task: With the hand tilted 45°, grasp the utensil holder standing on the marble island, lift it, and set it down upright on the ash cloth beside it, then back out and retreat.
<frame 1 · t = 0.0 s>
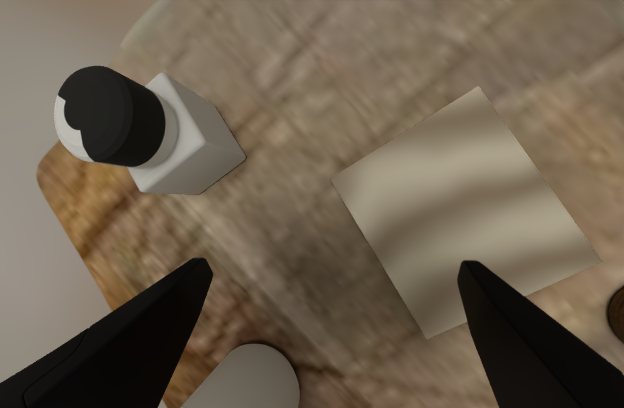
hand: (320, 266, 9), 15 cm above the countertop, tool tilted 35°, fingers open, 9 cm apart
alcohol: (262, 379, 25), on the countertop
ash cloth: (445, 214, 21), on the countertop
medicine bottle: (207, 151, 26), on the countertop
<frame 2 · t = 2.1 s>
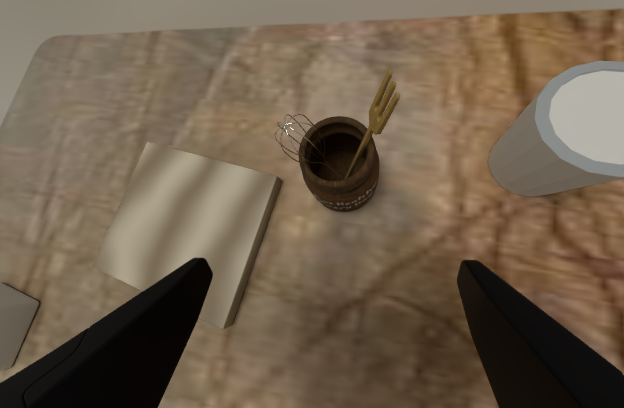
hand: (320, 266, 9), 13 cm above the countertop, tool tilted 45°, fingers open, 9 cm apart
white cup: (525, 164, 20), on the countertop
utensil holder: (345, 182, 23), on the countertop
ash cloth: (190, 225, 25), on the countertop
medicine bottle: (10, 322, 27), on the countertop
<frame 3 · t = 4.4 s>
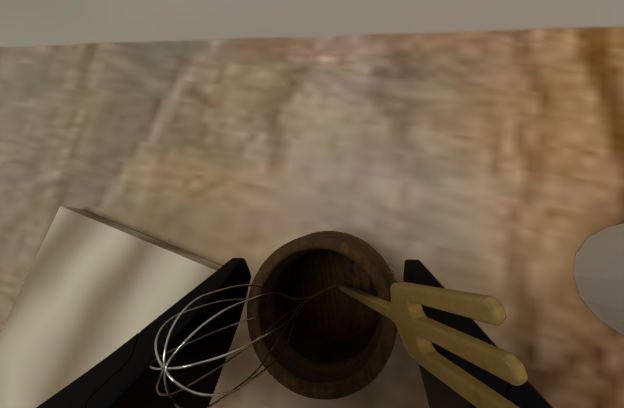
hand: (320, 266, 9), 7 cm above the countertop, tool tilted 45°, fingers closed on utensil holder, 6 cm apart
utensil holder: (340, 285, 15), on the countertop, touching gripper
ash cloth: (115, 334, 17), on the countertop
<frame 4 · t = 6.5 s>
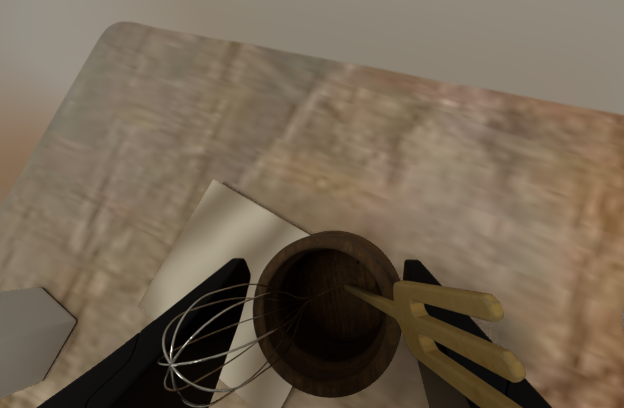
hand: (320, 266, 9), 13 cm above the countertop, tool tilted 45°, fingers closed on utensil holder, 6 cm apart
utensil holder: (346, 285, 15), point 6 cm above the countertop, touching gripper
ash cloth: (247, 284, 23), on the countertop
medicine bottle: (45, 331, 27), on the countertop
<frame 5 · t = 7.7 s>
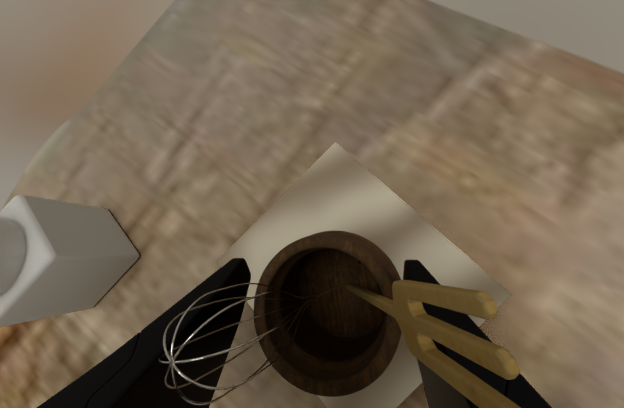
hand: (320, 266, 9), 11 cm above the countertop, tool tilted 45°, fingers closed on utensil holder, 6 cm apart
utensil holder: (348, 285, 15), point 4 cm above the countertop, touching gripper
ash cloth: (346, 273, 19), on the countertop
medicine bottle: (103, 256, 25), on the countertop
when the fingers open (9 cm above the countertop, at t = 8.5 s): utensil holder drops 1 cm, resting on ash cloth.
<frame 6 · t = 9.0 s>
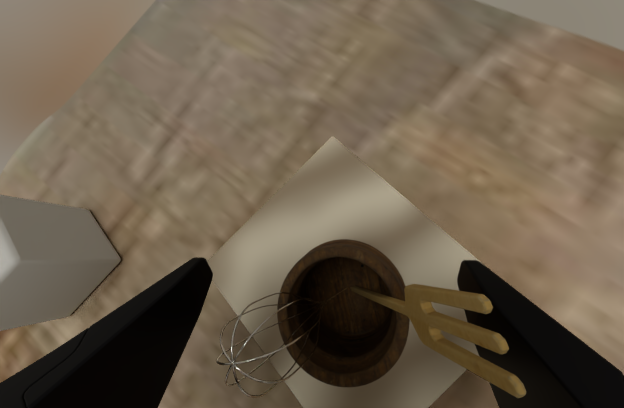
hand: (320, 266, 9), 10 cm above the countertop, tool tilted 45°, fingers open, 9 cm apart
utensil holder: (352, 287, 16), point 1 cm above the countertop, touching ash cloth
ash cloth: (344, 280, 17), on the countertop
medicine bottle: (82, 260, 23), on the countertop
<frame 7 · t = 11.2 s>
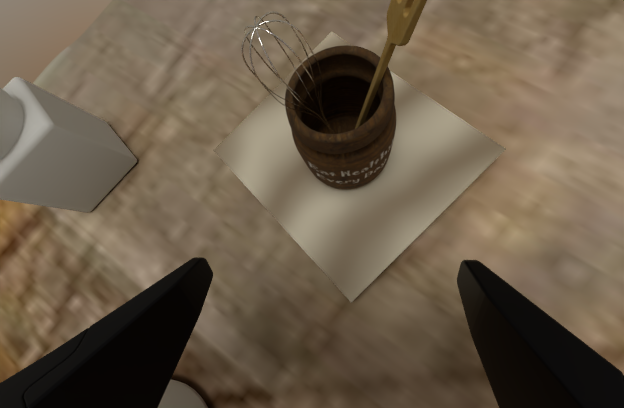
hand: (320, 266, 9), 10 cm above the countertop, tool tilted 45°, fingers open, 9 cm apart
utensil holder: (349, 153, 18), point 1 cm above the countertop, touching ash cloth
ash cloth: (342, 157, 19), on the countertop
medicine bottle: (101, 166, 25), on the countertop
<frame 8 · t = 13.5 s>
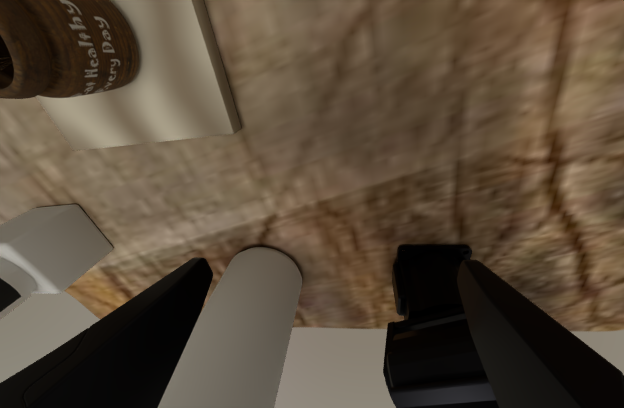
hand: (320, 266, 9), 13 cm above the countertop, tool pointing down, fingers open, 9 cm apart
utensil holder: (103, 37, 16), point 1 cm above the countertop, touching ash cloth
alcohol: (268, 269, 29), on the countertop
ash cloth: (113, 44, 18), on the countertop
medicine bottle: (78, 227, 31), on the countertop
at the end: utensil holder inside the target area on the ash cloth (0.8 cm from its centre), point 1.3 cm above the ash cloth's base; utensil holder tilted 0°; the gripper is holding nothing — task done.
